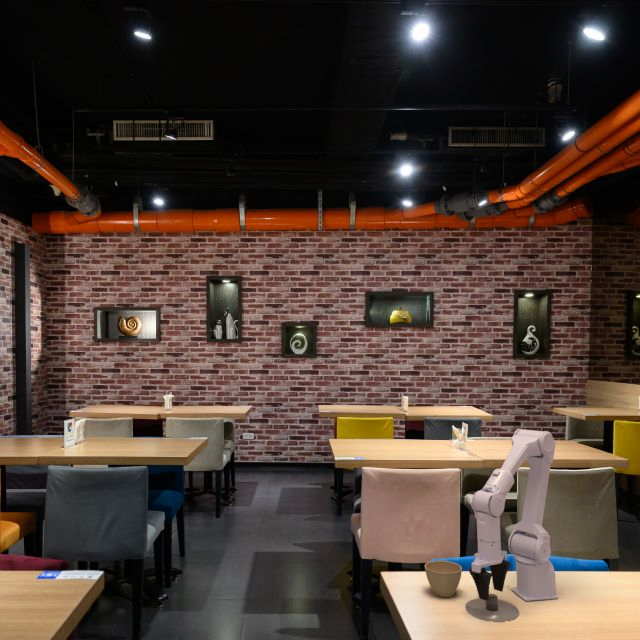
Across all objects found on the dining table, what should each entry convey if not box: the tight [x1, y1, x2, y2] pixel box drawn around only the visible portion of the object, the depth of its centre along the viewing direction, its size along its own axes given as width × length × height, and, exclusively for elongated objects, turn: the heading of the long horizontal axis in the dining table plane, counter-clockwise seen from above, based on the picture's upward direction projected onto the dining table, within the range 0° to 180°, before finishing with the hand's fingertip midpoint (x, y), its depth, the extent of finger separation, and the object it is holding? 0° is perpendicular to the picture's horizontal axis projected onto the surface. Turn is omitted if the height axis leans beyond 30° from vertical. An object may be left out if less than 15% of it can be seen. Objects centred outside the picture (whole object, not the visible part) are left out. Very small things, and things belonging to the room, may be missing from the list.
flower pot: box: [424, 560, 463, 598], centre depth 146 cm, size 10×10×7 cm
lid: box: [465, 593, 520, 623], centre depth 135 cm, size 13×13×4 cm
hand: (491, 594), depth 135 cm, fingers open, 7 cm apart
